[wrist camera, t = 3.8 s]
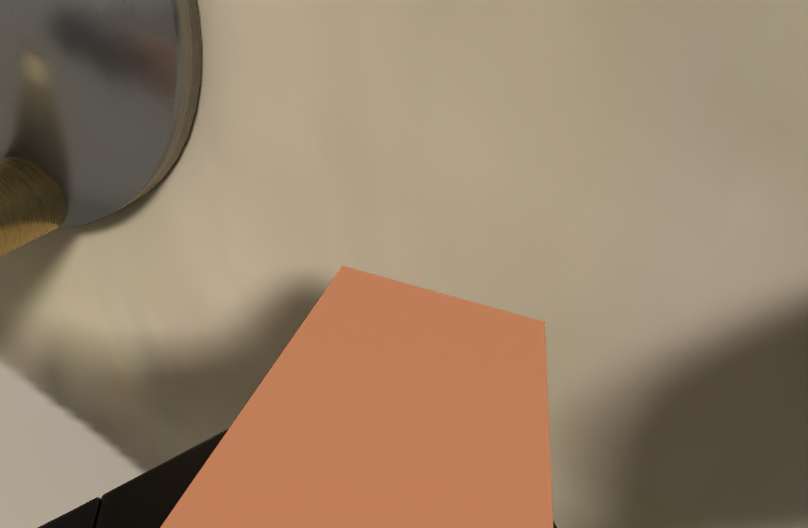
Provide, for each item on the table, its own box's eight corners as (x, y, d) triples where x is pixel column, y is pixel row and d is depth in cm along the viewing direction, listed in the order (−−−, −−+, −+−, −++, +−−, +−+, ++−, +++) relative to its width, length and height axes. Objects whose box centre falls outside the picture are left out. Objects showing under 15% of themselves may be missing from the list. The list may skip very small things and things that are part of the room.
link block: (544, 322, 8) (558, 672, 4) (465, 515, 11) (424, 841, 7) (342, 265, 9) (157, 531, 4) (315, 467, 11) (187, 747, 7)
